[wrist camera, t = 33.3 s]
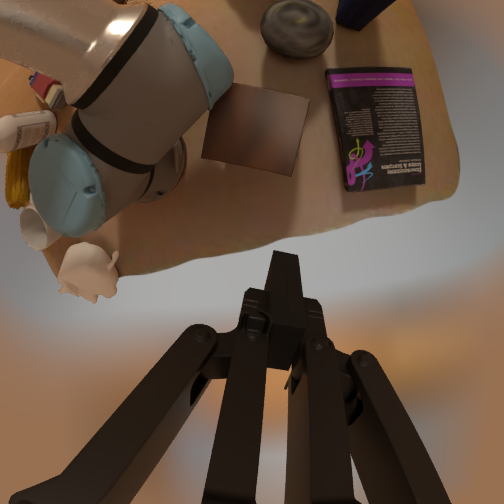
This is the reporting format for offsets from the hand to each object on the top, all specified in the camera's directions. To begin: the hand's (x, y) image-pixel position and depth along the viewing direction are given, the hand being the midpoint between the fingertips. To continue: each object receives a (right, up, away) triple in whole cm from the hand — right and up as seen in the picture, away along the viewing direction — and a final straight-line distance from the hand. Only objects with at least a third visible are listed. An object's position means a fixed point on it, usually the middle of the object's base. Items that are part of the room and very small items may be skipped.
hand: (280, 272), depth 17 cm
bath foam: (-44, +27, +23) cm, 56 cm away
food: (-55, +27, +20) cm, 65 cm away
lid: (-1, +15, +12) cm, 20 cm away
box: (+18, +21, +20) cm, 34 cm away
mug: (-42, +12, +30) cm, 53 cm away
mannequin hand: (-32, -6, +36) cm, 49 cm away
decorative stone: (+5, +34, +15) cm, 37 cm away
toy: (-47, +39, +16) cm, 63 cm away
